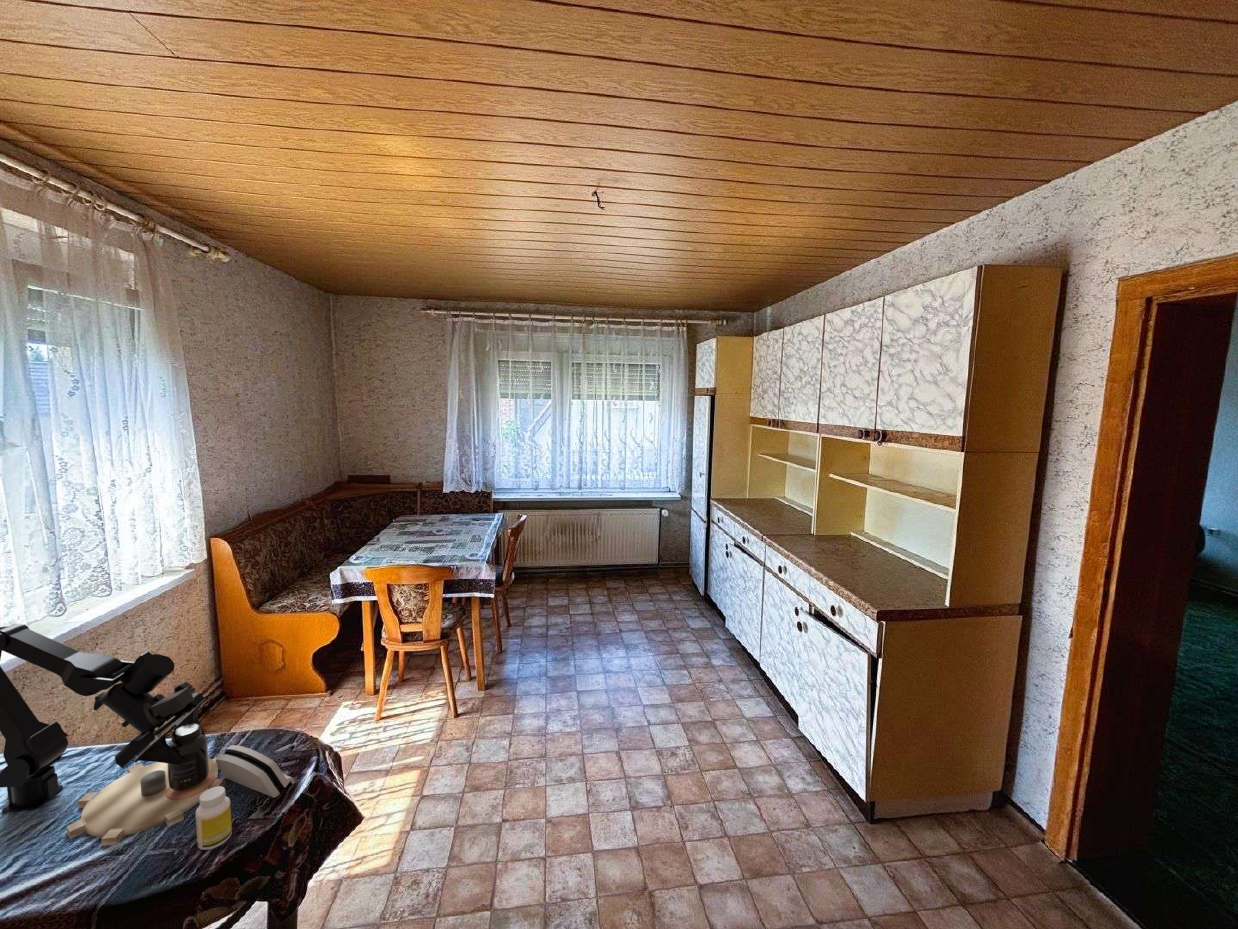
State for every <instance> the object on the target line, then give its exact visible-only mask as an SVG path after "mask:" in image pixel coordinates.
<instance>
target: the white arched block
mask: <svg viewBox="0 0 1238 929" xmlns="http://www.w3.org/2000/svg"><path fill="white" fill-rule="evenodd" d="M217 757H218V758H217ZM217 757H216V758H217V759H216V763H217V765H218V767H219V770H220V772H221V774H222V776H223V777H224V778H225V779H226V778H227V780H229V779H230V780H229V781H231V780H232V782H234V783H237V784H239V785H242V786H244V787H247V788H249V789H251V790H254V791H256V792H259V793H261V794H264V795H266V796H269V797H271V798H273V799H274V798H276V797H278V796H279V795H280V794H281V793H280V791H281V790H280V789H283V788H284V789H285V788H286V787H287V786H288V785H289V784H292V785H294V784H295V783H296V781H295V779H294V778H293V777H292V776H290V775H287V774H284V773H283V771H282V770H281V768H280V767H279V766H278V764H277V762H275V761H274V760H273V759H271V758H269V757H268V756H266V755H264V754H262V753H261V752H258V751H256V750H253V749H251V748H248V747H245V746H242V745H236V744H234V745H233V744H232V745H230V746H229V747H227V748H226V749H225V751H224V753H221V754H219V755H218V756H217Z"/></svg>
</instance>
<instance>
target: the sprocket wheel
mask: <svg viewBox="0 0 1238 929" xmlns="http://www.w3.org/2000/svg"><path fill="white" fill-rule="evenodd" d="M217 758H218V756H217V757H215V758H209V757H208V762H209V774H208V776H207V778H206V779H205V780H204V781H203V782H201V783H200V784H198V785H196V786H194V787H192V788H189V789H186V790H180V791H176V790H173V789H171V788H170V786H169V778H168V764H167V763H161V762H153V763H151V764H148V765H144V764H143V763H142V762H140V763H138V764H135V765H133V766H130V767H128V768H127V774H124V775H122V776H120V777H119V778H117V779H115V780H113V781H112V782H110V783H109V784H108V785H106V786H104V787H103V788H102V789H101V790H99V791H93V792H87V793H86V794H85V795H84V796H82V797H81V798H80V799H79V800H78V802H77V803H78V808H79V809H81V808H82V811H81V814H80V816H81V817H80V820H77V821H75V822H72V823H71V824H68V825H66V832H67V835H68V837H69V839H70V840H71V839H73V838H76V837H78V836H79V835H82V834H84V833H86V834H88V835H90V836H92V837H97V838H101V839H100V840H101V847H107V846H113V845H117V844H118V843H119V842H120V841H121V840H122V839H123V838H124V837H125V836H129V835H133V834H137V833H140V832H144V831H147V830H149V829H152V828H156V827H158V826H160V825H163V824H164V823H165V825H166V826H168V827H169V828H170V827H171V826H172V827H173V825H175V824H177V823H179V822H181V821H183V820H184V813H186V812H187V811H189V810H191V809H192V808H193V807H195V806H196V805H198V804H199V803H200V802H199V798H200V795H201V794H202V793H203V792H205V791H206V790H208V789H210V788H213V787H217V786H222V787H223V786H224V787H225V785H226V778H219V769H220V768H219V767H218V765H217V763H216V759H217ZM218 768H219V769H218Z"/></svg>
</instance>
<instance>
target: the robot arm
mask: <svg viewBox="0 0 1238 929" xmlns="http://www.w3.org/2000/svg"><path fill="white" fill-rule="evenodd" d="M2 651H3V652H5V653H7V654H9V655H12V656H14V657H16V658H19V659H21V660H23V661H25V662H28V663H30V664H33V665H34V666H37V667H40V668H41V669H44V670H46V671H48V672H50V673H53V674H54V675H57V676H58V677H60V679H61V681H62V683H63V686H64V687H66V688H67V689H69V690H71V691H73V692H74V693H75V694H78V695H79V696H83V697H90V696H94V695H96V694H97V695H96V696H94V703H93V710H94V711H98V710H99V709H101V708H102V707H104V706H106V707H107V708H109V709H110V710H111V711H112V712H114V714H116V715H117V716H118V717H120V718H121V719H122V720H123V722H122V723H121V724H120V726H122V727H123V728H127V727H129V726H131V727H132V728H133V729H135V730H136V731H137V732H139V734H138V735H137V736H135V738H132V739H131V740H130V741H129V742H128V743H127V744H126V745H125V746H124V747H123V748H122V749H121V750H120V751H118V753H117V754H116V755H115V756H114V763H115V764H116V765H118V766H119V767H120V768H121V769H125V767H126V766H127V765H128V764H130V763H131V762H133V763H135V764H137V763H138V762H153V763H156V762H161V763H168V764H175V765H181V764H182V763H183V762H184V761H185V760H184V759H183V758H182V757H181V756H180V755H179V754H178V753H177V752H176V751H175V750H173V749H172V748H171V747H170V744H168V743H167V738H166V734H165V733H164V734H163V735H161V734H162V733H163V732H164V731H166V730H167V729H168V728H170V727H171V726H172V725H173V724H175V725H176V726H175V727H174V728H173V731H174V730H175V729H177V728H179V727H181V726H184V725H187V724H192V723H196V724H199V725H200V730H201V734H202V735H204V736H205V737H206V738H207V735H206V733H205V732H204V730H203V727H202V725H201V723H200V720H199V711H200V709H201V705H200V704H202V703H203V702H204V701H205V700H206V697H205V696H203V695H202V694H201V693H200V692H198V693H195V692H196V688H195V687H194V686H193V685H192V684H190V683H189V682H187V681H183V682H181V683H180V684H178V685H177V686H176V687H174V692H172V693H171V694H169V695H168V696H164V695H163V694H160V693H157V694H155V695H154V696H153V695H152V694H151V692H152V691H154V689H156V688H157V686H159V685H160V684H161V683H162V682H164V680H165V679H167V678H168V676H170V675H171V674H172V673H173V671H175V667H176V666H175V662H174V661H173V659H172V658H171V657H170V656H166V655H164V654H160V653H155V654H154V653H153V654H152V653H151V652H150V651H145V652H144V653H141V655H139V656H138V657H137V658H136V659H135V661H130V660H120V659H119V658H118V657H114V656H111V655H106V654H103V653H94V652H93V653H92V652H89V653H88V652H87V653H86V652H82V651H79V650H77V649H74V648H72V647H71V646H67V645H65V644H62V643H61V642H59V641H56V640H54V639H51V638H49V637H47V636H45V635H44V634H41V633H38V632H37V631H34V630H32V629H30V628H29V627H28V625H27V624H24V623H13V624H11V625H6V626H0V660H1V659H2ZM106 690H107V691H106ZM100 692H101V693H100ZM98 693H99V694H98ZM0 733H1V735H2V736H3V737H4V740H5V743H4V748H3V754H2V755H3V756H2V757H3V758H4V761H5V763H6V766H5V767H4V768H3V769H2V770H1V771H0V789H1V788H6V792H7V798H8V799H7V800H8V801H7V802H8V804H7V805H6V806H4V807H3V808H2V809H1V813H10V812H11V813H13V812H22V811H27V810H28V811H30V810H36V809H39V808H41V807H42V806H43V805H44V804H46V803H47V802H48V801H49V800H51V798H53V797H54V796H55V795H56V794H57V793H58V792H60V791H61V790H62V789H63V788H64V785H63V784H60V785H59V780H58V773H56V770H55V765H54V764H55V763H57V762H59V761H60V760H62V758H63V755H64V753H65V752H66V750H67V749H68V746H69V740H68V737H69V734H68V733H66V732H65V731H64V730H63V728H62V726H61V723H59V722H58V721H54V722H52V723H51V724H50V723H46V722H43V721H40V720H39V718H37V716H36V715H35V713H34V712H33V710H31V708H30V706H29V705H28V704H27V702H26V700H25V699H24V697H22V695H21V693H20V692H19V690H18V689H17V688H16V686H15V685H14V684H13V682H12V680H11V679H10V678H9V676H8V674H6V672H5V671H4V669H3V668H2V667H1V665H0ZM159 735H161V736H160V737H159ZM136 757H137V758H136Z"/></svg>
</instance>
